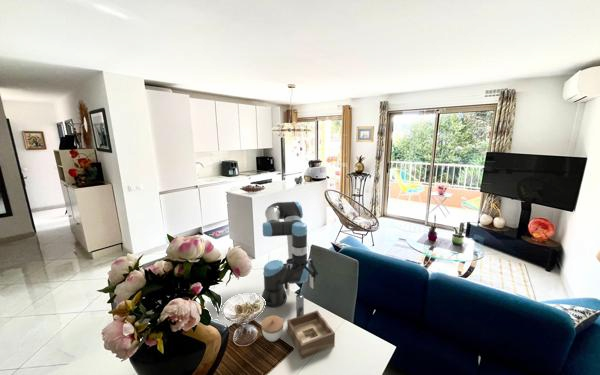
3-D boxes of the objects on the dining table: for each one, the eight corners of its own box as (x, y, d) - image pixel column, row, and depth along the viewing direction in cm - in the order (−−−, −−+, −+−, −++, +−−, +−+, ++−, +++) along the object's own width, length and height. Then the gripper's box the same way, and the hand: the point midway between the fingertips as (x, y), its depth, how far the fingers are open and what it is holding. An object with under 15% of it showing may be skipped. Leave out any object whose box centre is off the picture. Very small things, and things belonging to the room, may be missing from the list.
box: (287, 332, 125) (287, 320, 124) (317, 321, 132) (317, 310, 131) (301, 359, 110) (301, 345, 109) (334, 345, 117) (334, 333, 116)
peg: (295, 318, 135) (294, 295, 132) (301, 315, 137) (301, 293, 134) (298, 323, 131) (298, 299, 128) (305, 320, 133) (304, 297, 130)
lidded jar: (280, 347, 116) (280, 330, 115) (258, 343, 119) (258, 326, 117) (286, 330, 127) (285, 314, 125) (266, 327, 129) (265, 311, 127)
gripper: (278, 261, 117) (279, 301, 122) (324, 251, 128) (324, 288, 132) (273, 254, 124) (274, 292, 128) (317, 245, 134) (317, 280, 139)
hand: (299, 290), depth 130 cm, fingers open, 13 cm apart
